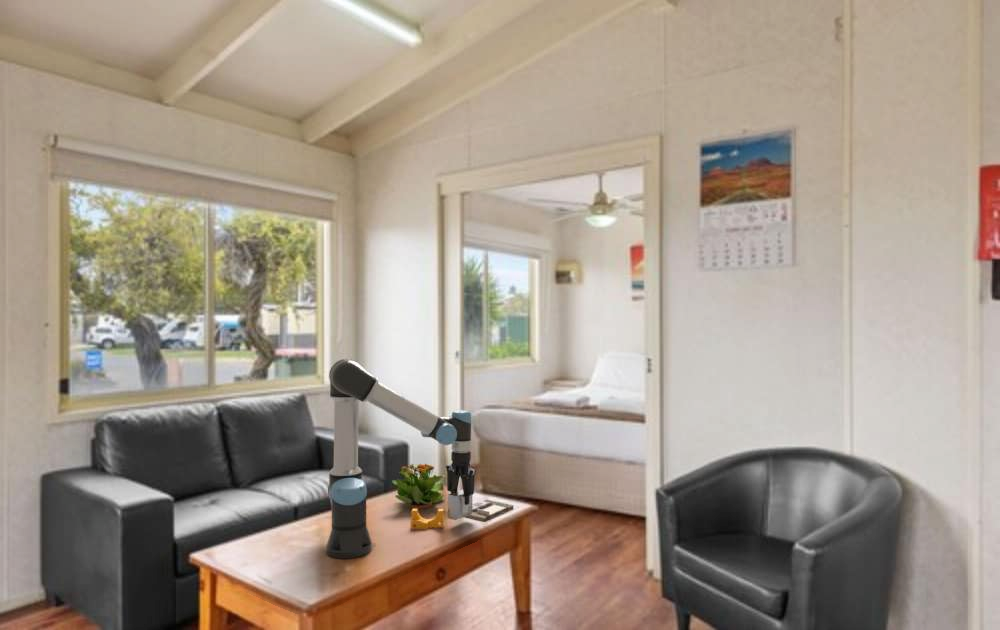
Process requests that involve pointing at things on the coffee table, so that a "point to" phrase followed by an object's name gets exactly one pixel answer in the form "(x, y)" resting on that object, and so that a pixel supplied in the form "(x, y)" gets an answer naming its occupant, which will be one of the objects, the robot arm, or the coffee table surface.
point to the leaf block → (457, 505)
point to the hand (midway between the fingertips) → (460, 511)
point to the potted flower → (419, 487)
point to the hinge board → (484, 505)
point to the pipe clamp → (427, 520)
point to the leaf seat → (493, 508)
